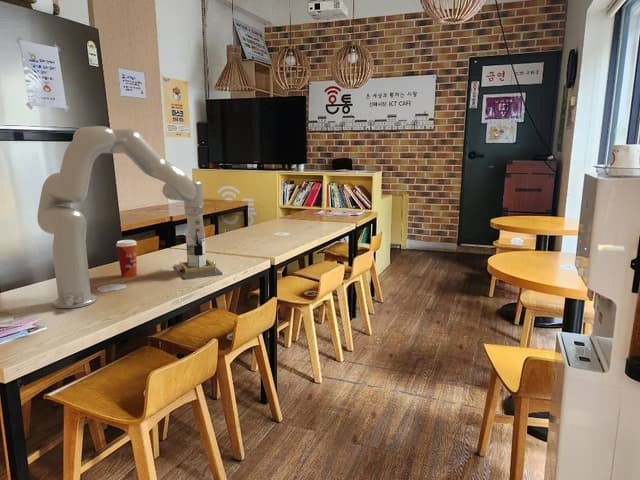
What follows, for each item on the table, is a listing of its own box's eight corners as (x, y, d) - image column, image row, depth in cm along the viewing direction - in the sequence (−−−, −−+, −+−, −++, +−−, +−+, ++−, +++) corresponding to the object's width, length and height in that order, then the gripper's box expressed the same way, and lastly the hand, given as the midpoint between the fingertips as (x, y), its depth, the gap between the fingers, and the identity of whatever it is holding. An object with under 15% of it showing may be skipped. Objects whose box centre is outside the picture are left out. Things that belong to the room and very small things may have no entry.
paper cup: (132, 278, 178) (129, 243, 175) (114, 277, 180) (111, 242, 177) (143, 273, 186) (140, 239, 183) (126, 272, 187) (123, 239, 184)
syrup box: (206, 265, 191) (205, 231, 189) (199, 268, 186) (197, 233, 183) (194, 264, 193) (192, 230, 190) (186, 267, 187) (185, 232, 185)
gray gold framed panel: (222, 274, 184) (222, 267, 183) (184, 279, 177) (184, 272, 176) (208, 262, 203) (208, 256, 202) (174, 266, 196) (173, 259, 196)
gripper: (208, 213, 179) (210, 256, 183) (198, 208, 194) (200, 248, 198) (189, 214, 176) (191, 258, 179) (180, 209, 191) (182, 250, 194)
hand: (196, 253), depth 188 cm, fingers open, 8 cm apart
